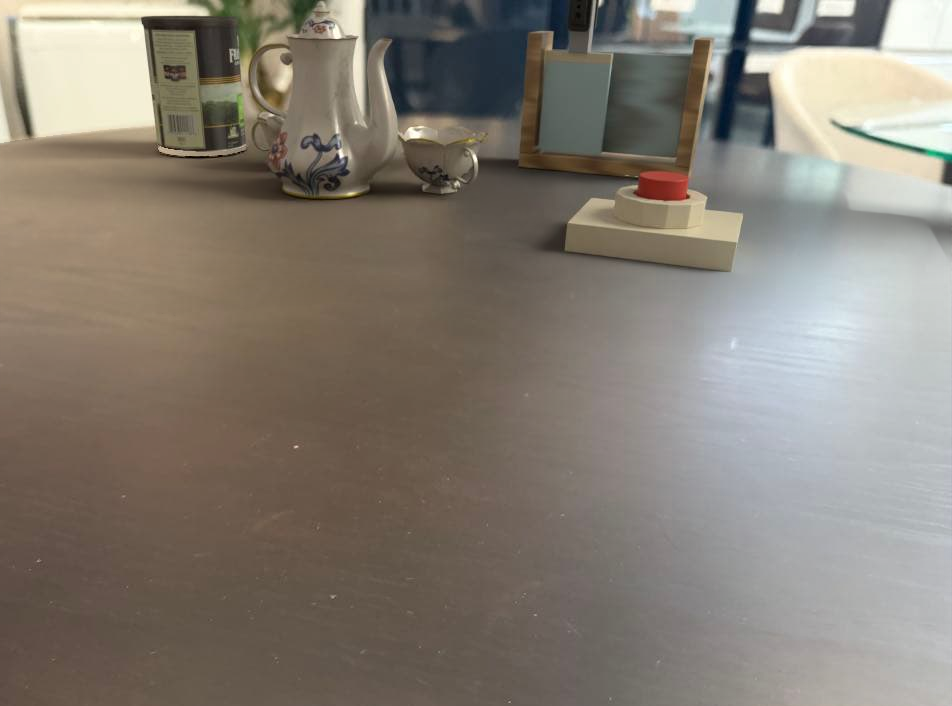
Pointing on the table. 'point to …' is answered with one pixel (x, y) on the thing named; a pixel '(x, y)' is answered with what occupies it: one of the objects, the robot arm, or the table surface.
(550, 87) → the blue-grey flat panel
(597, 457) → the table surface
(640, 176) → the button
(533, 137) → the window frame
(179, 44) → the coffee can
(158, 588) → the table surface
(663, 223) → the button box
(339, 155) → the chinaware
